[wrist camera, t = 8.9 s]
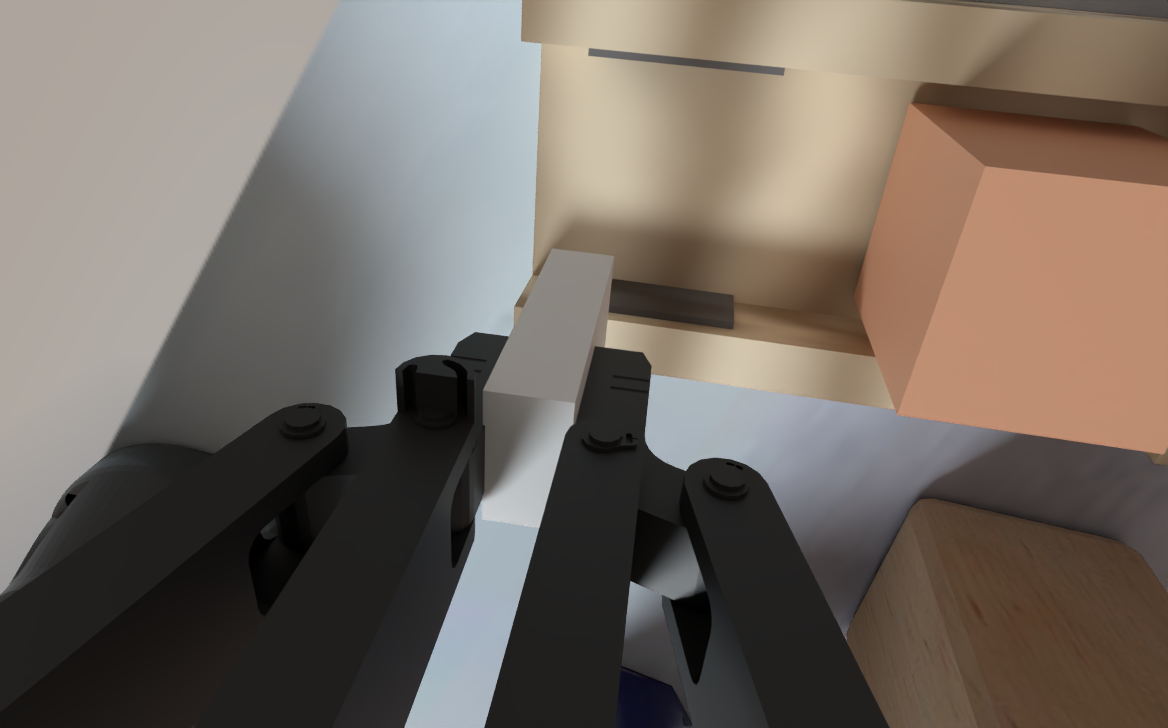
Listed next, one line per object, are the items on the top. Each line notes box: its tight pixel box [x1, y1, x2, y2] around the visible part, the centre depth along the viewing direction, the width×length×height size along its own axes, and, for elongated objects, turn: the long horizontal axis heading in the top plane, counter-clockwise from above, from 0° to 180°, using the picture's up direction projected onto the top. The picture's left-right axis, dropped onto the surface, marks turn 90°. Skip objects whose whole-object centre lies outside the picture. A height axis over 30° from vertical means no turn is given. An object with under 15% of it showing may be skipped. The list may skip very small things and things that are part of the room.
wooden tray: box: [514, 0, 1168, 465], centre depth 24 cm, size 24×13×5 cm, turn 86°
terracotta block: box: [854, 102, 1168, 454], centre depth 22 cm, size 7×7×8 cm
